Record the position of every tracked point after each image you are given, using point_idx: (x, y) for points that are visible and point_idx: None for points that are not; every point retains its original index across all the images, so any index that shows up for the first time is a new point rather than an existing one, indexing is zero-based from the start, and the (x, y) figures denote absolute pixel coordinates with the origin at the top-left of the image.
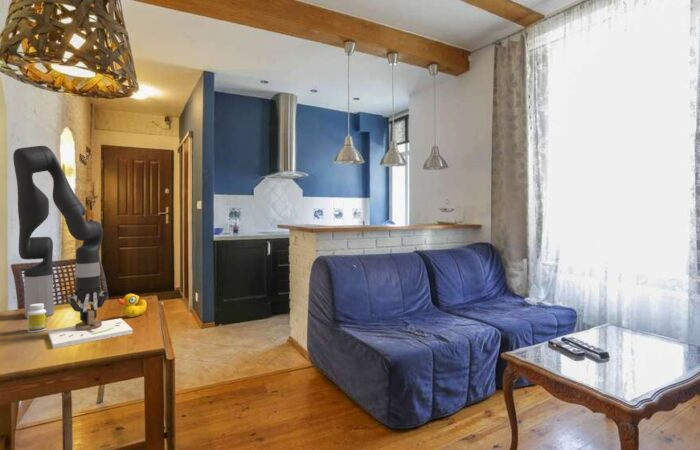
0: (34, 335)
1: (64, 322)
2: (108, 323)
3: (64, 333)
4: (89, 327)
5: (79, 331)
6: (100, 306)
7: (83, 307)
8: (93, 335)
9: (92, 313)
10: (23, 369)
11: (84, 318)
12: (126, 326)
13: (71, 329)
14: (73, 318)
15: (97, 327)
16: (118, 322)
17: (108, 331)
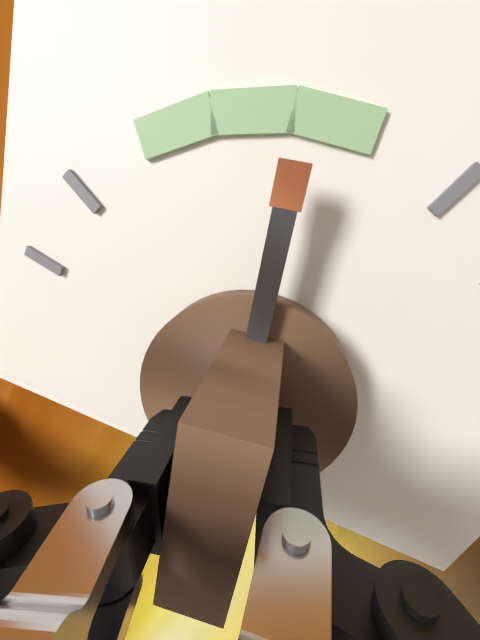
0: (475, 589)
1: (227, 623)
2: (104, 333)
3: (462, 405)
4: (296, 307)
5: (366, 342)
6: (13, 502)
7: (328, 637)
8: (409, 50)
9: (216, 407)
10: None
11: (290, 442)
12: (34, 68)
13: (353, 450)
14: (165, 633)
15: (290, 164)
16: (40, 283)
17: (228, 57)
